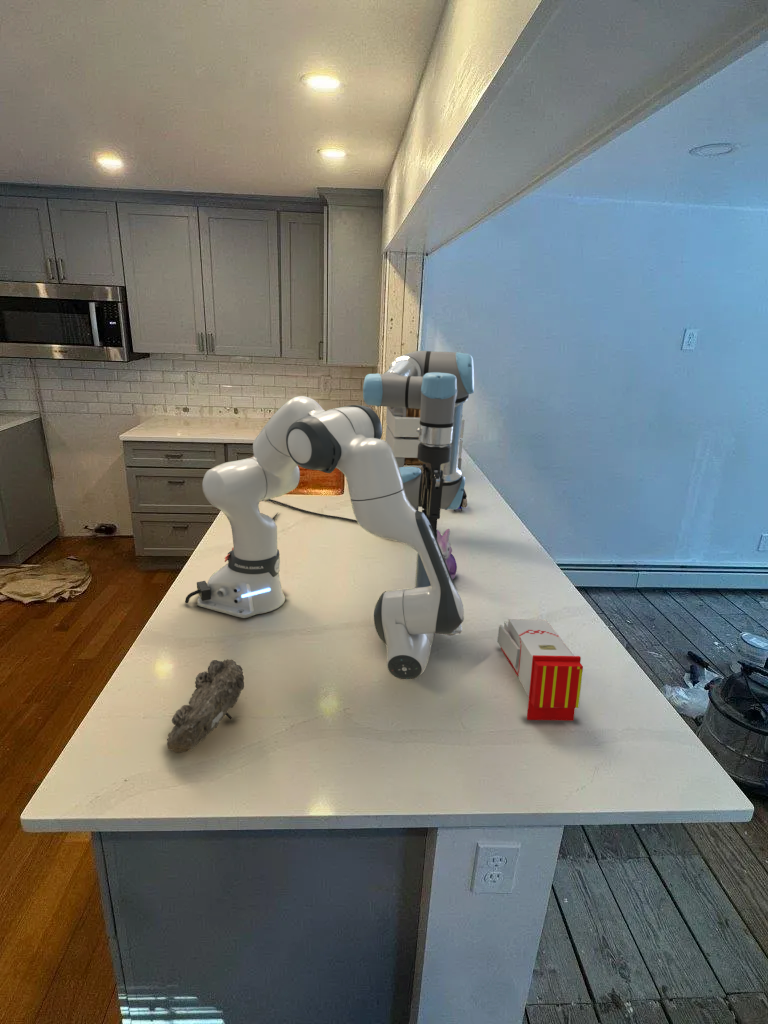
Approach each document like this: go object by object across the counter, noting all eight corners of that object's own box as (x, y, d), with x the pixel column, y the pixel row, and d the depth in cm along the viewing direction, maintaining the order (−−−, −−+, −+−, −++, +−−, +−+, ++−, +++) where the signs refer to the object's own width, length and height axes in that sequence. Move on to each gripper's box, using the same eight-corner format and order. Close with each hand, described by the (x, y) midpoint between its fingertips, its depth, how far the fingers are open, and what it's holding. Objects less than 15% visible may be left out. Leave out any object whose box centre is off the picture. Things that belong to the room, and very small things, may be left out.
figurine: (438, 587, 162) (442, 538, 157) (419, 572, 171) (423, 526, 166) (465, 581, 166) (470, 534, 161) (446, 567, 175) (450, 522, 170)
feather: (285, 507, 224) (287, 503, 224) (267, 531, 198) (270, 526, 197) (281, 504, 224) (284, 500, 223) (263, 528, 197) (265, 524, 197)
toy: (543, 604, 136) (592, 662, 106) (538, 656, 138) (584, 727, 109) (493, 603, 135) (528, 661, 106) (489, 655, 138) (522, 726, 109)
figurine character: (467, 516, 223) (461, 500, 237) (469, 499, 220) (463, 483, 233) (450, 516, 223) (446, 499, 236) (452, 498, 220) (447, 483, 233)
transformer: (382, 463, 289) (386, 382, 275) (445, 464, 293) (451, 384, 279) (390, 482, 257) (394, 392, 243) (460, 483, 261) (468, 394, 247)
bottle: (419, 617, 146) (426, 527, 138) (433, 623, 144) (441, 532, 135) (408, 623, 143) (414, 532, 135) (423, 630, 140) (430, 537, 132)
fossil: (192, 660, 117) (244, 628, 112) (224, 691, 120) (276, 661, 115) (142, 746, 98) (202, 712, 93) (182, 779, 101) (242, 748, 96)
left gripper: (462, 623, 127) (466, 594, 139) (372, 610, 130) (384, 584, 143) (459, 647, 129) (463, 617, 142) (371, 634, 132) (383, 606, 145)
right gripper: (412, 435, 135) (407, 526, 143) (424, 452, 119) (417, 554, 127) (443, 435, 136) (436, 526, 144) (459, 453, 120) (450, 554, 128)
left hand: (423, 600), depth 142 cm, fingers closed on bottle, 4 cm apart
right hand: (427, 539), depth 136 cm, fingers closed on cap, 4 cm apart
